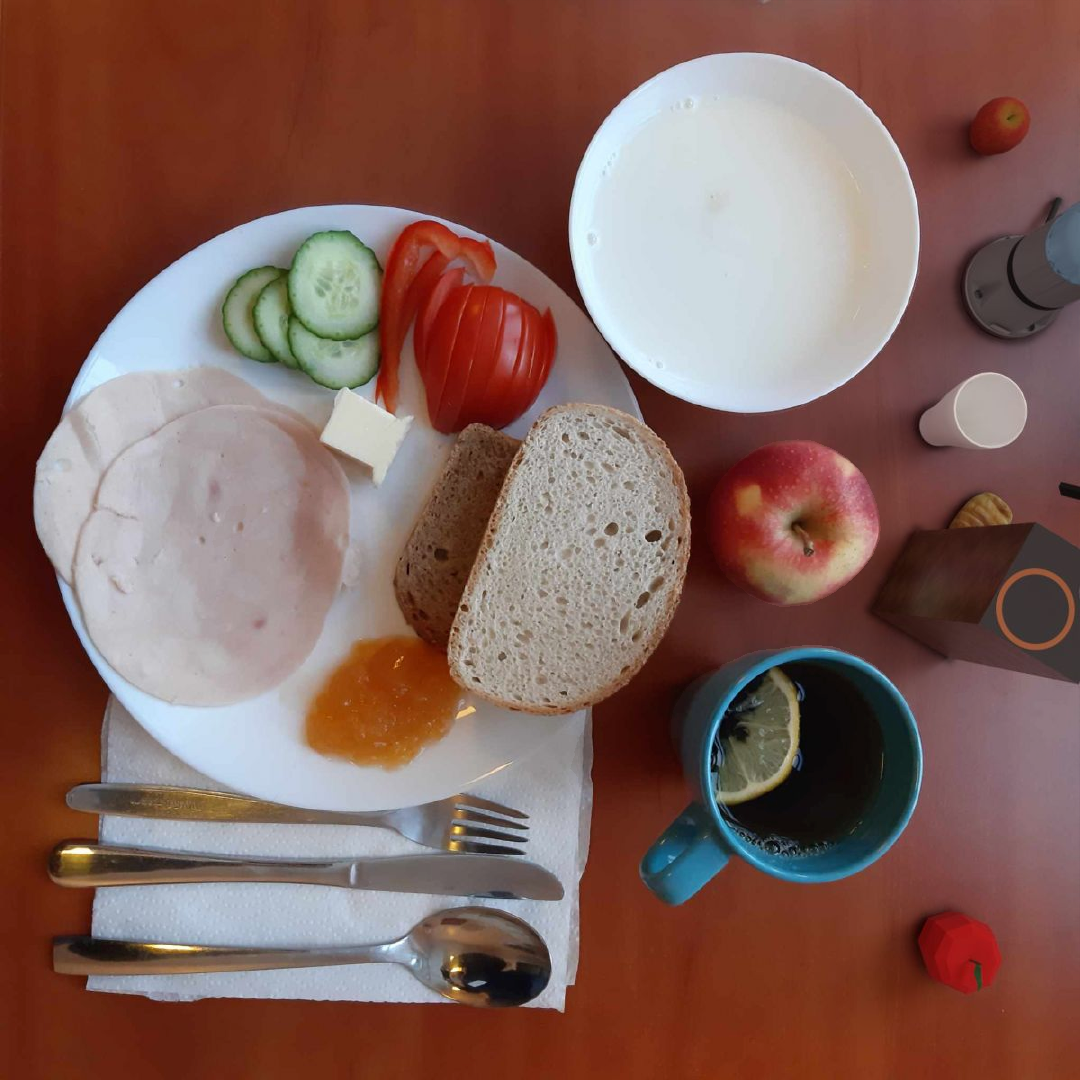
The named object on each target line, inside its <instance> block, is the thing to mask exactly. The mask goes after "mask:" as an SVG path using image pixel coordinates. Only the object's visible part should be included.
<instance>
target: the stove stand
mask: <svg viewBox="0 0 1080 1080" xmlns="http://www.w3.org/2000/svg"><path fill="white" fill-rule="evenodd" d="M1035 522H1036V521H1033V522H1032V521H1031V522H1018V523H1010V524H1003V525H990V526H977V527H964V528H950V529H949V528H939V529H938V528H937V529H925V530H924V529H923V530H916V531H915V532H914V534H913V536H912V538H911V539H910V541H909V543H908V544H907V547H906V549H905V550H904V552H903V554H902V555H901V556H900V559H899V560H898V562H897V564H896V566H895V567H894V570H893V571H892V573H891V575H890V576H889V578H888V580H887V582H886V584H884V585H885V586H884V588H883V589H882V590H881V592H880V594H879V596H878V598H877V599H876V601H875V603H874V605H873V607H872V608H871V612H872V613H873V614H875V615H877V616H879V617H880V618H882V619H884V620H885V621H887V622H889V623H891V624H892V625H894V626H895V627H897V628H899V630H902V631H904V632H905V633H907V634H908V635H910V636H911V637H913V638H915V639H917V640H919V641H920V642H922V643H923V644H925V645H926V646H928V647H930V648H931V649H934V650H935V651H936V652H938V653H940V654H942V655H943V656H945V657H946V658H948V659H952V660H958V661H961V662H962V661H963V662H966V663H971V664H976V665H981V666H986V667H991V668H997V669H1001V670H1006V671H1011V672H1016V673H1020V674H1026V675H1030V676H1035V677H1041V678H1044V679H1045V678H1046V679H1049V680H1055V681H1060V682H1065V683H1070V684H1075V685H1077V684H1076V683H1074V682H1073V681H1071V680H1069V679H1068V678H1066V677H1065V676H1063V675H1061V674H1060V673H1058V672H1056V671H1055V670H1053V669H1051V668H1050V667H1048V666H1047V665H1045V664H1043V663H1042V662H1040V661H1038V660H1037V659H1035V658H1033V657H1032V656H1030V655H1028V654H1027V653H1025V652H1024V651H1022V650H1020V649H1019V648H1017V647H1015V646H1014V645H1012V644H1010V643H1009V642H1007V641H1005V640H1004V639H1002V638H1001V637H999V636H997V635H996V634H994V633H992V632H991V631H989V630H987V629H986V628H984V627H982V626H981V625H979V622H980V620H981V618H982V616H983V615H984V613H985V611H986V609H987V607H988V606H989V604H990V602H991V600H992V599H993V597H994V595H995V593H996V591H997V590H998V588H999V586H1000V584H1001V582H1002V581H1003V579H1004V577H1005V575H1006V573H1007V572H1008V570H1009V568H1010V566H1011V565H1012V563H1013V561H1014V559H1015V557H1016V556H1017V554H1018V552H1019V550H1020V548H1021V547H1022V545H1023V543H1024V541H1025V539H1026V538H1027V536H1028V534H1029V532H1030V531H1031V529H1032V527H1033V525H1034V523H1035Z"/></svg>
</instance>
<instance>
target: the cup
mask: <svg viewBox="0 0 1080 1080" xmlns="http://www.w3.org/2000/svg"><path fill="white" fill-rule="evenodd" d="M1027 417H1028V406H1027V401H1026V397H1025V395H1024V393H1023V391H1022V389H1021V388H1020V387H1019V385H1018V384H1017V383H1016V382H1015V381H1013V380H1012V379H1011V378H1010V377H1008V376H1006V375H1003V374H1002V373H997V372H992V371H991V372H990V371H987V372H980V373H978V374H975V375H972V376H970V377H968V378H966V379H965V380H963V381H961V382H960V383H959V384H957V385H956V386H955V387H954V388H952V389H951V390H949V392H947V393H946V394H945V395H944V396H943V397H942V398H941V399H940V400H939V401H938V402H937V403H936V404H935V405H933V406H932V407H929V408H928V409H926V410H925V411H924V413H923V414H922V415H921V417H920V419H919V424H918V427H919V431H920V435H921V437H922V439H924V441H925V442H926V443H928V444H930V445H932V446H935V447H944V446H949V447H956V448H960V449H965V450H975V451H985V450H993V449H1000V448H1004V447H1005V446H1008V445H1010V444H1011V443H1012V442H1014V441H1015V440H1016V439H1017V438H1018V437H1019V436H1020V434H1021V433H1022V432H1023V430H1024V427H1025V425H1026V423H1027Z"/></svg>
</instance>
